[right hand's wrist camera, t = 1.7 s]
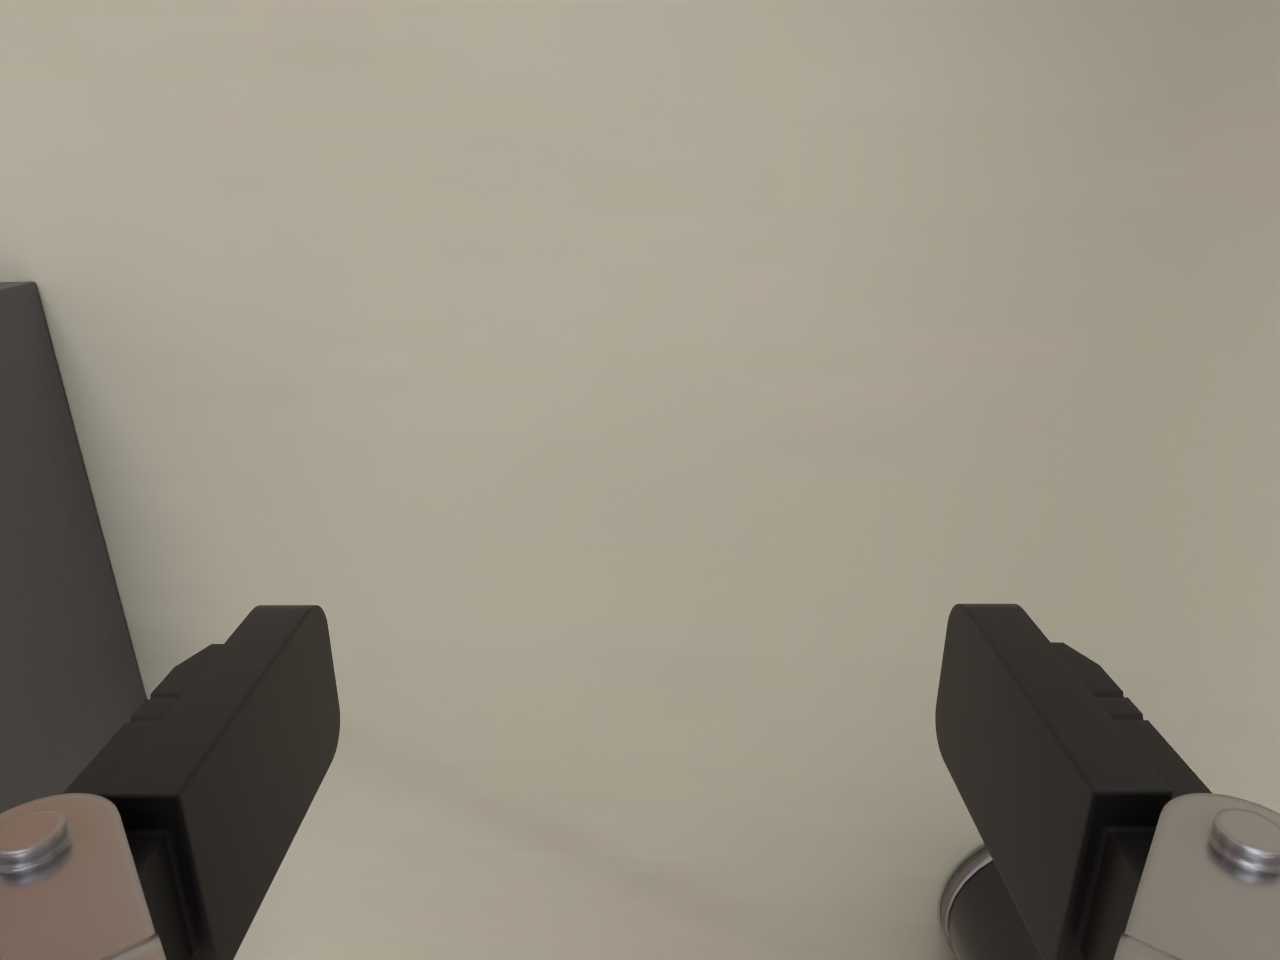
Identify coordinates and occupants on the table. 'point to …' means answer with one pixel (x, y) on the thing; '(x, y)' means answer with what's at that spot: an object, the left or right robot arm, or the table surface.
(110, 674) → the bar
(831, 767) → the table surface
